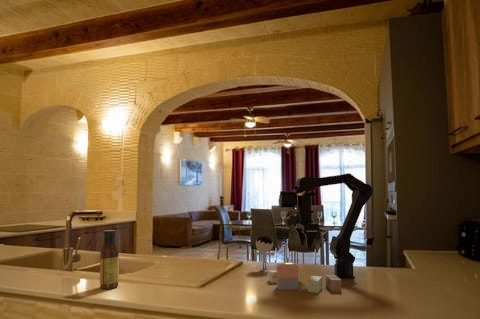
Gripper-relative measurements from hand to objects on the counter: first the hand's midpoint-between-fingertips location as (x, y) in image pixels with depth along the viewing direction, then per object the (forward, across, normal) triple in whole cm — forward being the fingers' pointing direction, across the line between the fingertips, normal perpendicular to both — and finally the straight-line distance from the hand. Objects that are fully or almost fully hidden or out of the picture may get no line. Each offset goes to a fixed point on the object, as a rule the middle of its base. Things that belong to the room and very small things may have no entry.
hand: (305, 246), depth 139 cm
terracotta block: (+8, +15, -11) cm, 20 cm away
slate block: (+12, +15, -11) cm, 22 cm away
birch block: (+12, +5, -12) cm, 18 cm away
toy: (+12, -16, -14) cm, 25 cm away
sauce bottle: (+12, +8, -74) cm, 75 cm away
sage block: (+12, +18, -2) cm, 22 cm away
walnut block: (+12, +17, +5) cm, 21 cm away
